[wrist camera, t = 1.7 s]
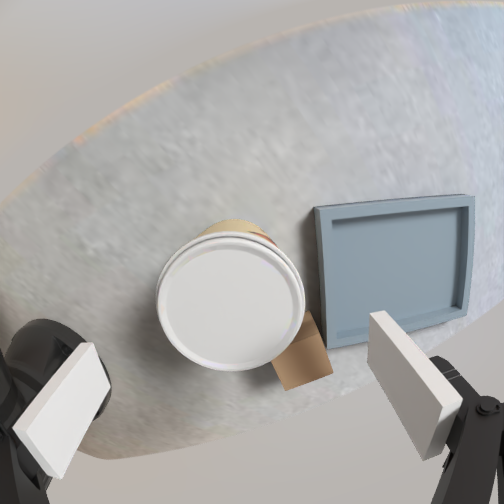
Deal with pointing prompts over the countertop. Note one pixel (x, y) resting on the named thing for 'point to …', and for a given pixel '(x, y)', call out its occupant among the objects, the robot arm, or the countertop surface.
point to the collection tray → (393, 263)
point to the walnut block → (303, 357)
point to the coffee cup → (230, 298)
